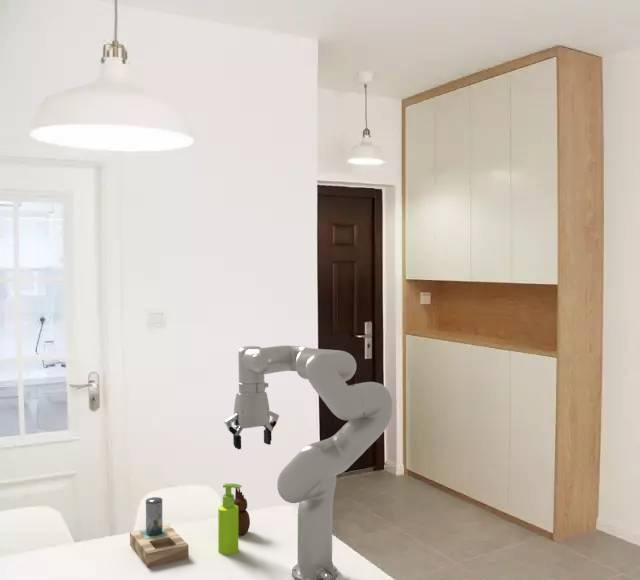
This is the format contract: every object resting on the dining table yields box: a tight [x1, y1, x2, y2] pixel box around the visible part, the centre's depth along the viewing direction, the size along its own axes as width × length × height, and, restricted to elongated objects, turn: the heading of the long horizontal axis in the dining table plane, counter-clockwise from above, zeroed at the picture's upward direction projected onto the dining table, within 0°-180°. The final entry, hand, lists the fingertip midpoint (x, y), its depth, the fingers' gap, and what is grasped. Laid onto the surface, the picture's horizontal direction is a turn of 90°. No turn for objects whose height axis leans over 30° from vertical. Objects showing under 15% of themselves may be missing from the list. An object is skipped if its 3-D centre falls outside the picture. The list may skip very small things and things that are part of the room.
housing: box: [129, 524, 189, 568], centre depth 204 cm, size 18×12×4 cm, turn 30°
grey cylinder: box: [145, 496, 163, 536], centre depth 207 cm, size 5×5×10 cm
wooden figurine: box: [234, 488, 251, 537], centre depth 218 cm, size 7×6×15 cm
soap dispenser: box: [217, 483, 243, 556], centre depth 204 cm, size 6×7×20 cm
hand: (252, 446), depth 204 cm, fingers open, 9 cm apart
